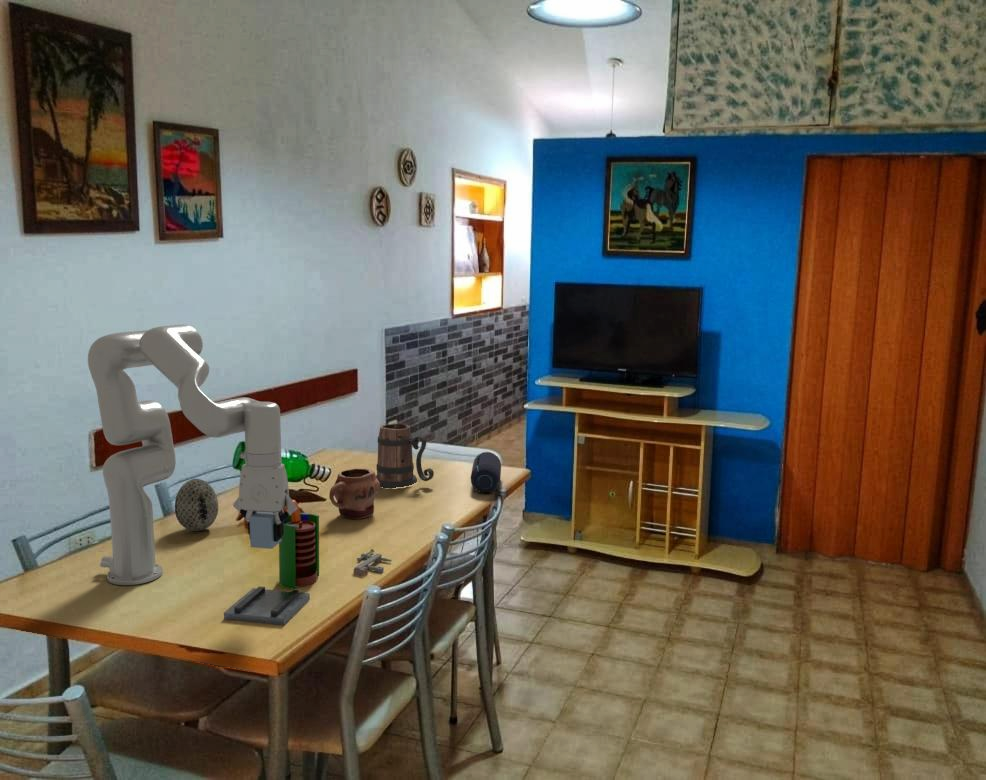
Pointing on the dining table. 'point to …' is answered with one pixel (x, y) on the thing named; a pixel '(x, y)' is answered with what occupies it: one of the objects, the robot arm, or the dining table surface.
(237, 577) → the dining table surface
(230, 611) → the mounting bracket
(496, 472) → the portable speaker
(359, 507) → the clay mug
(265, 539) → the slate grey block
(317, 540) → the motor
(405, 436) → the tankard
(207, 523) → the decorative egg
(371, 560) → the clamp
